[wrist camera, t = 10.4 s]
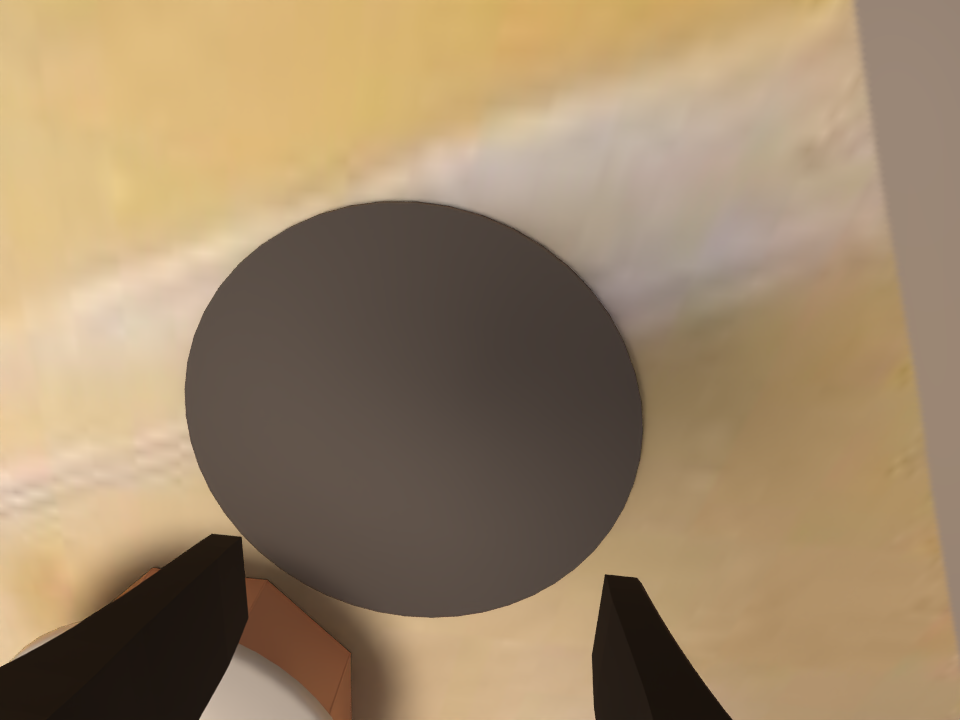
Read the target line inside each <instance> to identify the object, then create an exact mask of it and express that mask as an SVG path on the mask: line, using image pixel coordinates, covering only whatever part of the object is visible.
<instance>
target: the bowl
mask: <svg viewBox="0 0 960 720" xmlns="http://www.w3.org/2000/svg"><path fill="white" fill-rule="evenodd" d="M159 570H160V569H159V568H151V569H150V571H148V572H147V573H146V574H145V575H144V576H142V577H141V578H140V579H139V580H138V581H136V582H135V583H134V584H133V585H132V586H130V587H129V588H128V589H127V590H126V591H124V592H123V593H122V594H121V595H120V596H119V597H117V598H116V599H118V598H120V597H121V596H123V595H124V594H125V593H127V592H128V591H130V590H131V589H133V588H134V587H136V586H137V585H139V584H140V583H142V582H143V581H144V580H146V579H147V578H149V577H150V576H152V575H153V574H155V573H156V572H158V571H159ZM245 582H246V593H247V605H248V616H249V618H248V621H247V623H246V626H245V628H244V631H243V633H242V636H241V638H240V641H239V644H241V645H243V646H245V647H247V648H249V649H251V650H253V651H255V652H257V653H258V654H260V655H262V656H263V657H265V658H266V659H268V660H270V661H271V662H273V663H274V664H276V665H278V666H279V667H280V668H282V669H283V670H284V671H286V672H287V673H288V674H289V675H291V676H292V677H293V678H295V679H296V680H297V681H299V682H300V683H301V684H302V685H303V686H304V687H305V688H306V689H307V690H308V691H309V692H310V693H311V694H312V695H313V696H314V697H315V698H316V699H317V700H318V701H319V702H320V703H321V705H322V706H323V707H324V708H325V710H326V711H327V712H328V713H329V714H330V716H331V717H332V719H333V720H352V714H351V652H349V651H348V650H347V649H345V648H344V647H343V646H342V645H341V644H340V643H339V642H337V641H336V640H335V639H334V638H333V637H332V636H331V635H329V634H328V633H327V632H326V631H325V630H324V629H323V628H321V627H320V626H319V625H318V624H317V623H316V622H315V621H313V620H312V619H311V618H310V617H309V616H308V615H307V614H305V613H304V612H303V611H302V610H301V609H300V608H299V607H297V606H296V605H295V604H294V603H293V602H292V601H291V600H289V599H288V598H287V597H286V596H285V595H284V594H283V593H281V592H280V591H279V590H278V589H277V588H276V587H275V586H273V585H272V584H271V583H270V582H269V581H268V580H267V579H266V580H262V579H253V578H245ZM116 599H115V600H116ZM115 600H114V601H115ZM111 603H112V602H111Z"/></svg>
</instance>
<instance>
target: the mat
mask: <svg viewBox="0 0 960 720" xmlns="http://www.w3.org/2000/svg"><path fill="white" fill-rule="evenodd" d="M185 406H186V419H187V424H188V429H189V435H190V440H191V444H192V447H193V450H194V453H195V456H196V459H197V462H198V465H199V468H200V470H201V472H202V474H203V476H204V478H205V480H206V483H207V485H208V487H209V489H210V491H211V492H212V494H213V496H214V497H215V499H216V500H217V502H218V504H219V505H220V507H221V508H222V510H223V511H224V513H225V514H226V516H227V517H228V518H229V519H230V520H231V522H232V523H233V524H234V525H235V527H236V528H237V529H238V530H239V532H240V533H241V534H242V535H243V536H244V537H245V538H246V539H247V540H248V541H249V542H250V543H251V544H252V545H253V546H254V547H255V548H256V549H257V550H258V551H259V552H260V553H261V554H263V555H264V556H265V557H266V558H268V559H269V560H270V561H271V562H273V563H274V564H275V565H276V566H278V567H279V568H280V569H282V570H283V571H285V572H286V573H288V574H289V575H291V576H293V577H294V578H296V579H297V580H299V581H300V582H302V583H304V584H305V585H307V586H309V587H311V588H313V589H315V590H317V591H319V592H321V593H323V594H325V595H327V596H330V597H333V598H335V599H338V600H341V601H343V602H346V603H349V604H351V605H354V606H358V607H362V608H366V609H369V610H373V611H377V612H382V613H388V614H394V615H401V616H411V617H429V618H434V617H454V616H463V615H469V614H475V613H482V612H486V611H490V610H493V609H497V608H501V607H504V606H508V605H510V604H513V603H515V602H518V601H520V600H523V599H525V598H528V597H530V596H533V595H535V594H536V593H538V592H540V591H542V590H544V589H545V588H547V587H549V586H551V585H553V584H555V583H556V582H557V581H559V580H560V579H561V578H563V577H564V576H566V575H567V574H568V573H570V572H571V571H573V570H574V569H575V568H576V567H577V566H579V565H580V564H581V563H582V562H583V561H584V560H585V559H586V558H587V557H588V556H589V555H590V554H591V553H592V552H593V551H594V550H595V549H596V548H597V547H598V545H599V544H600V543H601V542H602V540H603V539H604V538H605V537H606V535H607V534H608V533H609V532H610V530H611V529H612V527H613V525H614V524H615V522H616V520H617V519H618V517H619V515H620V514H621V512H622V510H623V508H624V506H625V504H626V501H627V499H628V496H629V494H630V492H631V489H632V487H633V484H634V481H635V477H636V473H637V469H638V465H639V461H640V454H641V444H642V433H643V426H642V408H641V399H640V394H639V389H638V384H637V380H636V375H635V372H634V369H633V366H632V363H631V361H630V358H629V355H628V352H627V350H626V347H625V344H624V341H623V340H622V338H621V336H620V334H619V332H618V330H617V328H616V326H615V325H614V323H613V321H612V319H611V317H610V315H609V314H608V312H607V311H606V310H605V308H604V307H603V306H602V304H601V303H600V302H599V300H598V299H597V297H596V296H595V295H594V293H593V292H592V291H591V289H590V288H589V287H588V286H587V285H586V284H585V283H584V282H583V281H582V280H581V279H580V278H579V277H578V276H577V275H576V274H575V273H574V272H573V271H572V270H571V269H570V268H569V267H568V266H567V265H566V264H565V263H563V262H562V261H561V260H560V259H558V258H557V257H556V256H555V255H553V254H552V253H551V252H549V251H548V250H547V249H546V248H544V247H543V246H542V245H540V244H538V243H537V242H535V241H533V240H532V239H530V238H528V237H527V236H525V235H523V234H521V233H520V232H518V231H516V230H515V229H513V228H510V227H508V226H506V225H503V224H501V223H499V222H496V221H494V220H492V219H489V218H487V217H485V216H482V215H479V214H475V213H472V212H468V211H464V210H461V209H457V208H454V207H450V206H443V205H436V204H429V203H422V202H391V201H383V202H375V203H367V204H360V205H352V206H348V207H344V208H340V209H337V210H333V211H329V212H326V213H322V214H319V215H317V216H314V217H312V218H310V219H308V220H305V221H303V222H301V223H298V224H296V225H294V226H292V227H290V228H288V229H286V230H284V231H283V232H281V233H280V234H278V235H276V236H275V237H273V238H272V239H270V240H268V241H267V242H265V243H264V244H262V245H261V246H259V247H258V248H257V249H256V250H255V251H254V252H252V253H251V254H250V255H249V256H248V257H247V258H245V259H244V260H243V261H242V262H241V263H240V264H238V266H237V267H236V268H235V269H234V270H233V271H232V273H231V274H230V275H229V276H228V277H227V278H226V280H225V281H224V282H223V283H222V284H221V285H220V287H219V288H218V290H217V291H216V293H215V295H214V296H213V298H212V300H211V301H210V303H209V304H208V306H207V308H206V309H205V311H204V313H203V316H202V318H201V321H200V323H199V325H198V328H197V330H196V332H195V335H194V338H193V342H192V346H191V350H190V354H189V358H188V362H187V371H186V381H185Z"/></svg>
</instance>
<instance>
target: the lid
mask: <svg viewBox="0 0 960 720" xmlns="http://www.w3.org/2000/svg"><path fill="white" fill-rule="evenodd" d="M80 622H82V621H80ZM80 622H77V623H73V624H70V625H66V626H63V627H60V628H57V629H55V630H53V631H51V632H49V633H46V634H44V635H42V636H40V637H38V638H37V639H36V640H34V641H33V642H31V643H30V644H28V645H27V646H25V647H24V648H23V649H22V650H21V651H20V652H19V653H18V654H17V655H16V656H15V657H14V658H13V659H12V660H11V661H13V660H15V659H17V658H19V657H20V656H22V655H24V654H26V653H28V652H30V651H32V650H33V649H35V648H37V647H39V646H41V645H43V644H44V643H46V642H48V641H50V640H52V639H53V638H55V637H57V636H59V635H60V634H62V633H64V632H65V631H67V630H69V629H70V628H72V627H74V626H75V625H77V624H78V623H80ZM11 661H10V662H11ZM199 720H333V719H332V717H331V716H330V714H329V713H328V712H327V711H326V710H325V708H324V707H323V706H322V705H321V703H320V702H319V701H318V700H317V699H316V698H315V697H314V696H313V695H312V694H311V693H310V692H309V691H308V690H307V689H306V688H305V687H304V686H303V685H302V684H301V683H300V682H299V681H297V680H296V679H295V678H293V677H292V676H291V675H289V674H288V673H287V672H286V671H284V670H283V669H282V668H280V667H279V666H278V665H276V664H274V663H273V662H271V661H270V660H268V659H266V658H265V657H263V656H262V655H260V654H258V653H257V652H255V651H253V650H251V649H249V648H247V647H245V646H243V645H241V644H239V643H238V646H237V648H236V651H235V653H234V655H233V658H232V660H231V662H230V664H229V667H228V669H227V670H226V672H225V674H224V676H223V678H222V680H221V681H220V683H219V685H218V687H217V689H216V690H215V692H214V694H213V696H212V698H211V699H210V701H209V703H208V705H207V707H206V708H205V710H204V712H203V714H202V715H201V717H200V719H199Z"/></svg>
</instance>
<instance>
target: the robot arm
mask: <svg viewBox="0 0 960 720" xmlns="http://www.w3.org/2000/svg"><path fill="white" fill-rule="evenodd" d="M248 618H249V616H248V605H247V593H246V582H245V571H244V559H243V548H242V537H237V536H228V535H218V534H211V535H209V536H208V537H206V538H205V539H203V540H202V541H200V542H199V543H197V544H196V545H195V546H193V547H192V548H190V549H189V550H187V551H186V552H184V553H183V554H182V555H180V556H179V557H177V558H176V559H175V560H173V561H172V562H170V563H169V564H167V565H166V566H165V567H163V568H162V569H160V570H159V571H158V572H156V573H155V574H153V575H152V576H150V577H149V578H147V579H146V580H144V581H143V582H142V583H140V584H139V585H137V586H136V587H134V588H133V589H131V590H130V591H128V592H127V593H125V594H124V595H123V596H121V597H120V598H118V599H116V600H115V601H113V602H112V603H110V604H108V605H107V606H105V607H104V608H102V609H101V610H99V611H97V612H96V613H94V614H93V615H91V616H89V617H88V618H86V619H85V620H83V621H82V622H80V623H78V624H77V625H75V626H74V627H72V628H70V629H69V630H67V631H65V632H64V633H62V634H60V635H59V636H57V637H55V638H53V639H52V640H50V641H48V642H46V643H44V644H43V645H41V646H39V647H37V648H35V649H33V650H32V651H30V652H28V653H26V654H24V655H22V656H20V657H19V658H17V659H15V660H13V661H11V662H9V663H7V664H5V665H3V666H1V667H0V720H199V719H200V717H201V715H202V714H203V712H204V710H205V708H206V707H207V705H208V703H209V701H210V699H211V698H212V696H213V694H214V692H215V690H216V689H217V687H218V685H219V683H220V681H221V680H222V678H223V676H224V674H225V672H226V670H227V669H228V667H229V664H230V662H231V660H232V658H233V655H234V653H235V651H236V648H237V646H238V643H239V641H240V638H241V636H242V633H243V631H244V628H245V626H246V623H247V621H248ZM592 670H593V695H594V711H595V718H596V720H732V719H731V717H730V716H729V715H728V714H727V712H726V711H725V710H724V709H723V707H722V706H721V705H720V703H719V702H718V701H717V699H716V698H715V697H714V695H713V694H712V693H711V691H710V690H709V689H708V687H707V686H706V685H705V683H704V682H703V680H702V679H701V678H700V676H699V675H698V673H697V672H696V671H695V669H694V668H693V666H692V665H691V663H690V662H689V660H688V659H687V657H686V656H685V654H684V653H683V651H682V650H681V648H680V647H679V645H678V644H677V642H676V641H675V639H674V638H673V636H672V635H671V633H670V631H669V630H668V628H667V626H666V625H665V623H664V622H663V620H662V618H661V617H660V615H659V613H658V612H657V610H656V608H655V606H654V605H653V603H652V601H651V599H650V598H649V596H648V594H647V592H646V591H645V589H644V587H643V585H642V583H641V582H640V581H639V580H638V578H635V577H625V576H615V575H606V574H605V578H604V584H603V590H602V596H601V603H600V609H599V615H598V621H597V627H596V634H595V640H594V646H593V652H592Z"/></svg>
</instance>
